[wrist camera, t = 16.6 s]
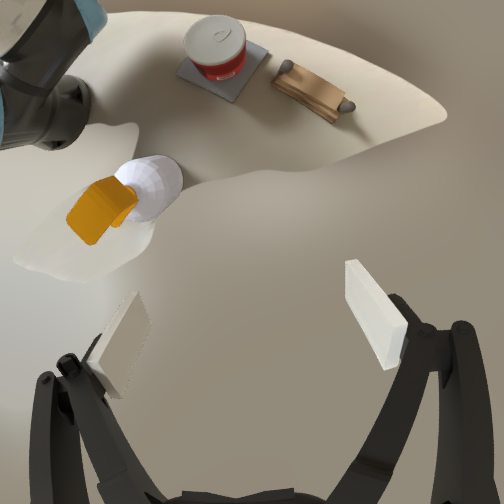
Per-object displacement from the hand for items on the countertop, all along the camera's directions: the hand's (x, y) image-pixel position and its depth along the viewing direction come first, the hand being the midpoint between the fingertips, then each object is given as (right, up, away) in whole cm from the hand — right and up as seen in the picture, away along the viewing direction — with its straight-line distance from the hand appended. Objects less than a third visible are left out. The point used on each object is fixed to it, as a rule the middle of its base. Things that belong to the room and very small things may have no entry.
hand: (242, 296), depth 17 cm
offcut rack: (+10, +29, +22) cm, 38 cm away
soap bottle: (-15, +15, +28) cm, 35 cm away
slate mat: (-4, +34, +20) cm, 39 cm away
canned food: (-4, +33, +19) cm, 39 cm away
